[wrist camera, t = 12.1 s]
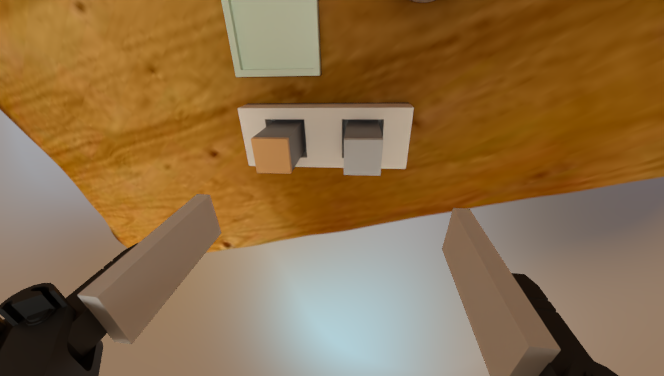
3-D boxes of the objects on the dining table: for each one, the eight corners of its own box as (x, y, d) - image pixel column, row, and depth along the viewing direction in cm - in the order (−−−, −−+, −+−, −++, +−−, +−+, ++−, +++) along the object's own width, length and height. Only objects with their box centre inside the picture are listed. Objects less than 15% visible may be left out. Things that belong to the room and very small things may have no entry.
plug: (275, 119, 34) (250, 138, 26) (304, 119, 34) (287, 139, 26) (279, 147, 36) (256, 172, 28) (306, 147, 35) (291, 173, 28)
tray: (220, -31, 27) (214, -35, 26) (316, -38, 26) (315, -41, 25) (240, 76, 33) (236, 77, 32) (321, 74, 32) (319, 75, 31)
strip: (248, 103, 34) (237, 108, 31) (408, 102, 32) (413, 107, 29) (257, 156, 38) (249, 165, 35) (401, 159, 36) (405, 168, 33)
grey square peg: (347, 119, 33) (343, 139, 25) (377, 119, 33) (383, 140, 25) (347, 147, 35) (343, 174, 27) (375, 148, 34) (380, 175, 27)
